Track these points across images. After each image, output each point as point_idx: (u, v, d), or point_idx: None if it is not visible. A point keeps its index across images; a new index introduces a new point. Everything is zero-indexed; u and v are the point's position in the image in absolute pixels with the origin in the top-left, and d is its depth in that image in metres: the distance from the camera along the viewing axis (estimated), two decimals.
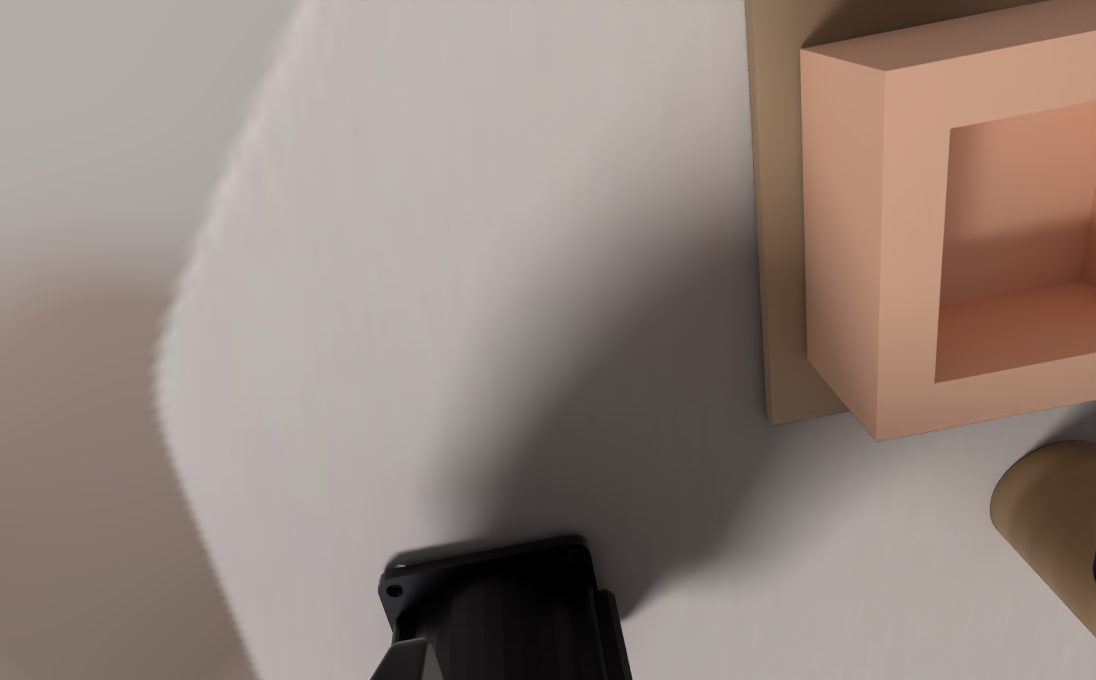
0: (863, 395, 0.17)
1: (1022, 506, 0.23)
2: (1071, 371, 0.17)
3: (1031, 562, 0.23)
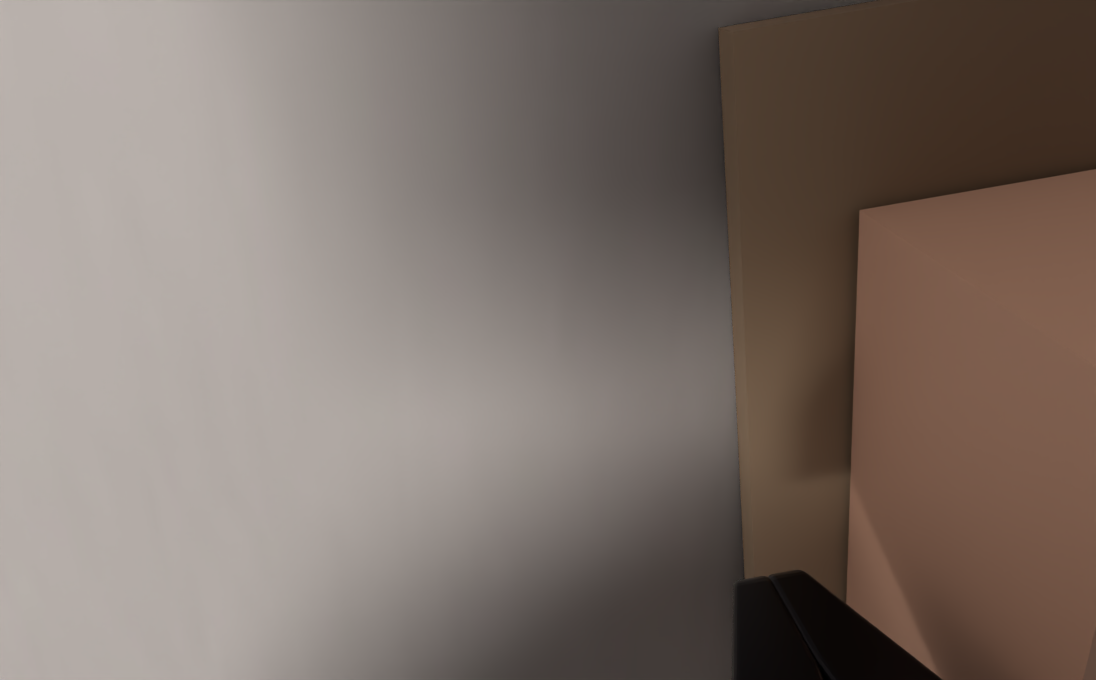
0: None
1: None
2: None
3: None
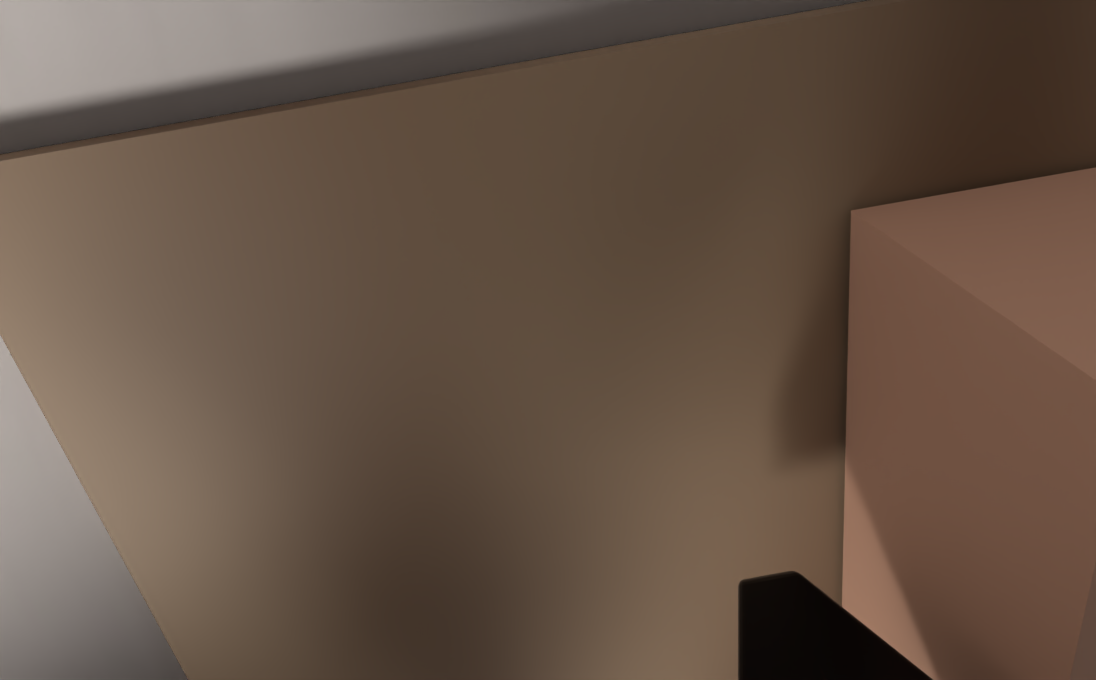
0: None
1: None
2: None
3: None
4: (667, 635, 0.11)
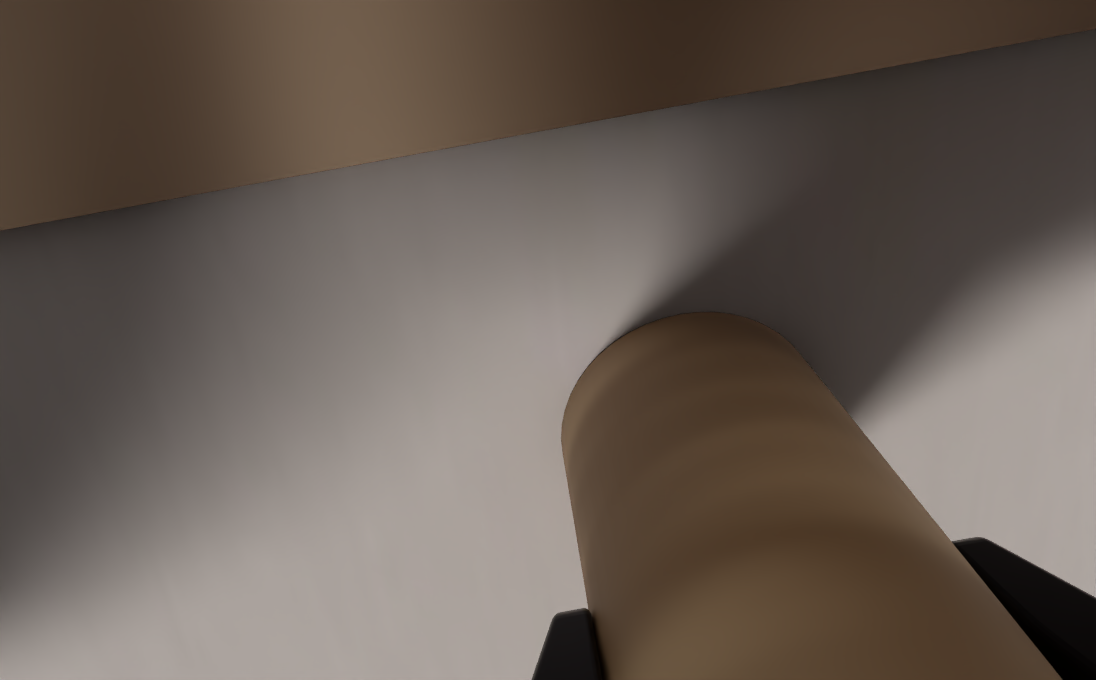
0: None
1: (575, 450, 0.10)
2: None
3: None
4: None
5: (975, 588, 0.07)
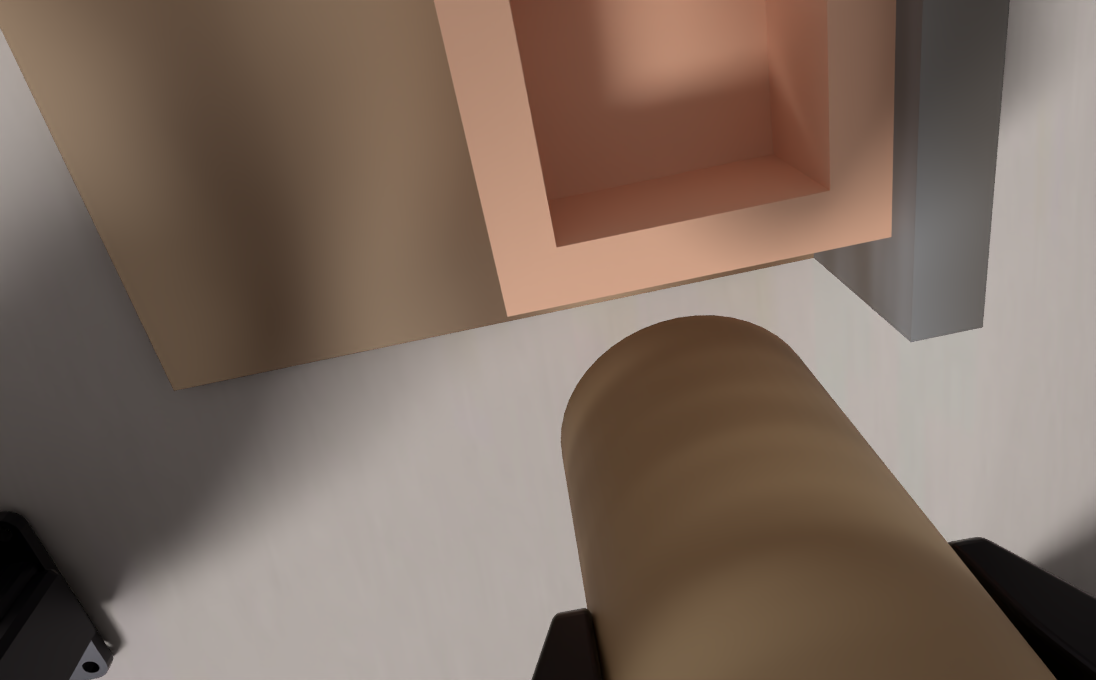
0: None
1: (575, 453, 0.10)
2: (710, 233, 0.15)
3: None
4: (381, 193, 0.18)
5: (973, 593, 0.07)
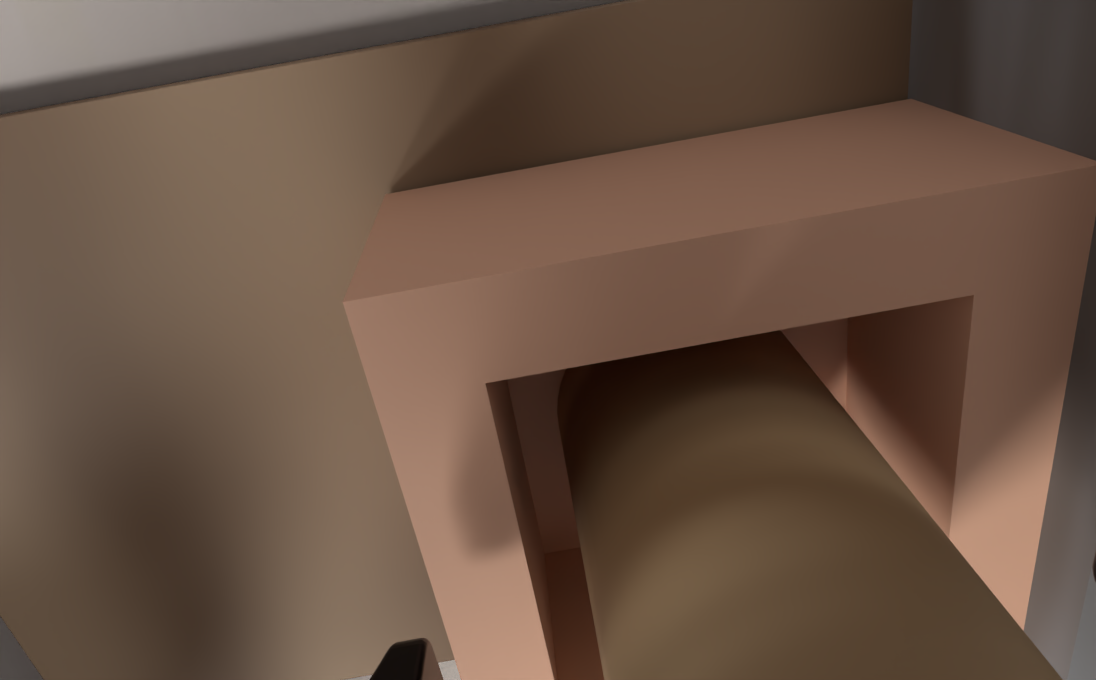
0: None
1: (570, 419, 0.11)
2: None
3: None
4: (336, 525, 0.14)
5: (928, 529, 0.07)
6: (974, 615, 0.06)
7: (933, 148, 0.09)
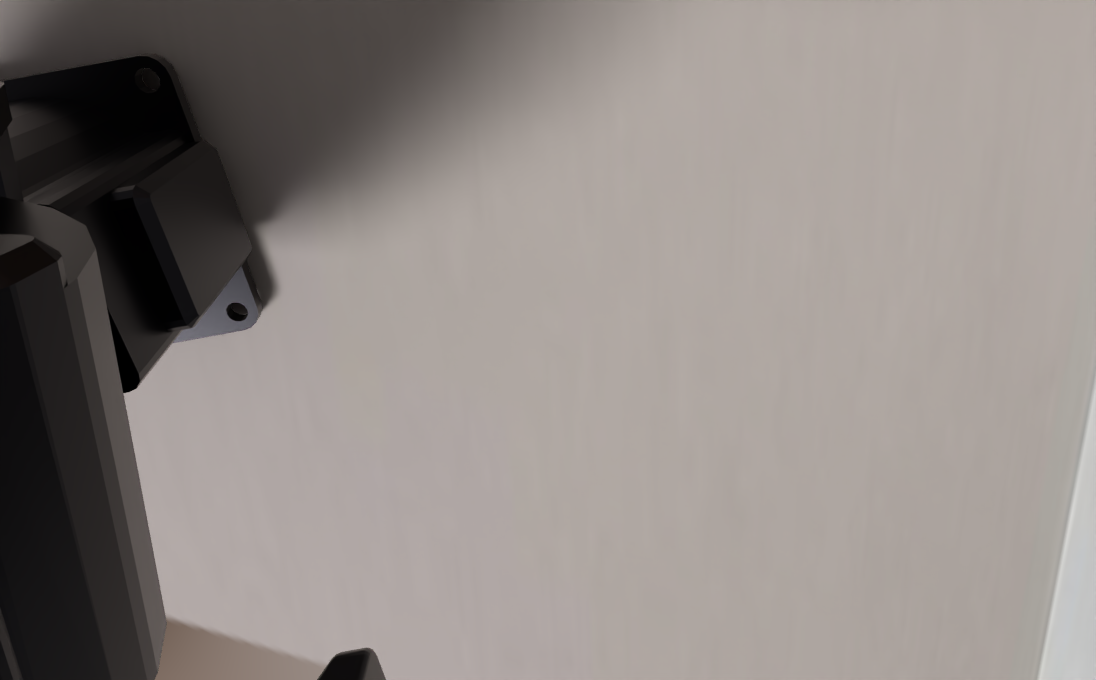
0: None
1: None
2: None
3: None
4: None
5: None
6: None
7: None
